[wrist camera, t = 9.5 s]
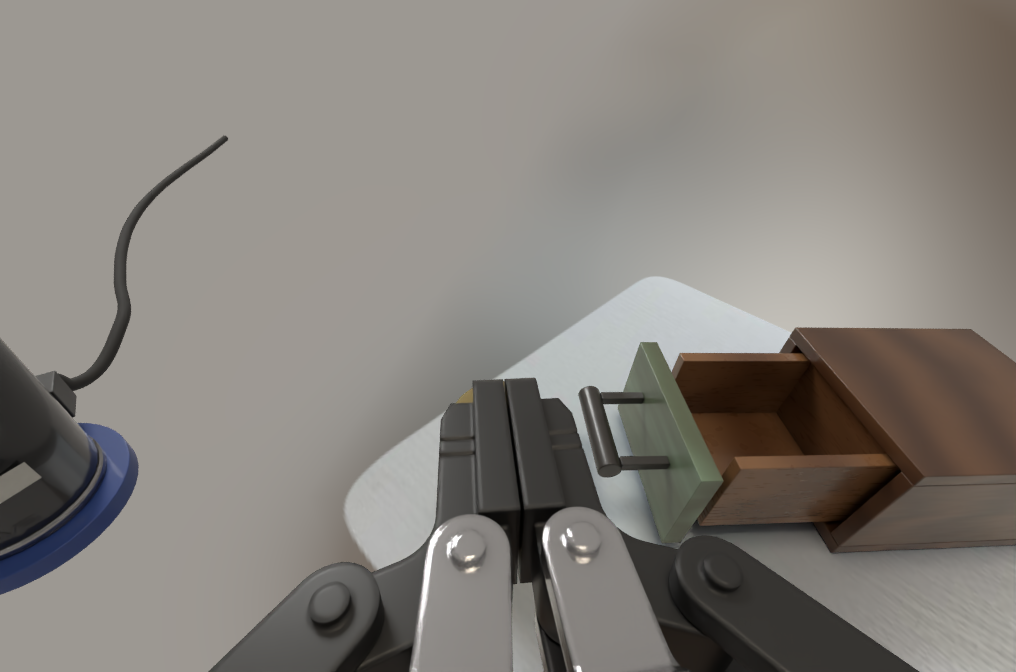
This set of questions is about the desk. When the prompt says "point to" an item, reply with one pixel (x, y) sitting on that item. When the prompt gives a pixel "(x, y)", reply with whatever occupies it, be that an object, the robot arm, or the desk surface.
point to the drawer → (737, 441)
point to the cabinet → (925, 434)
